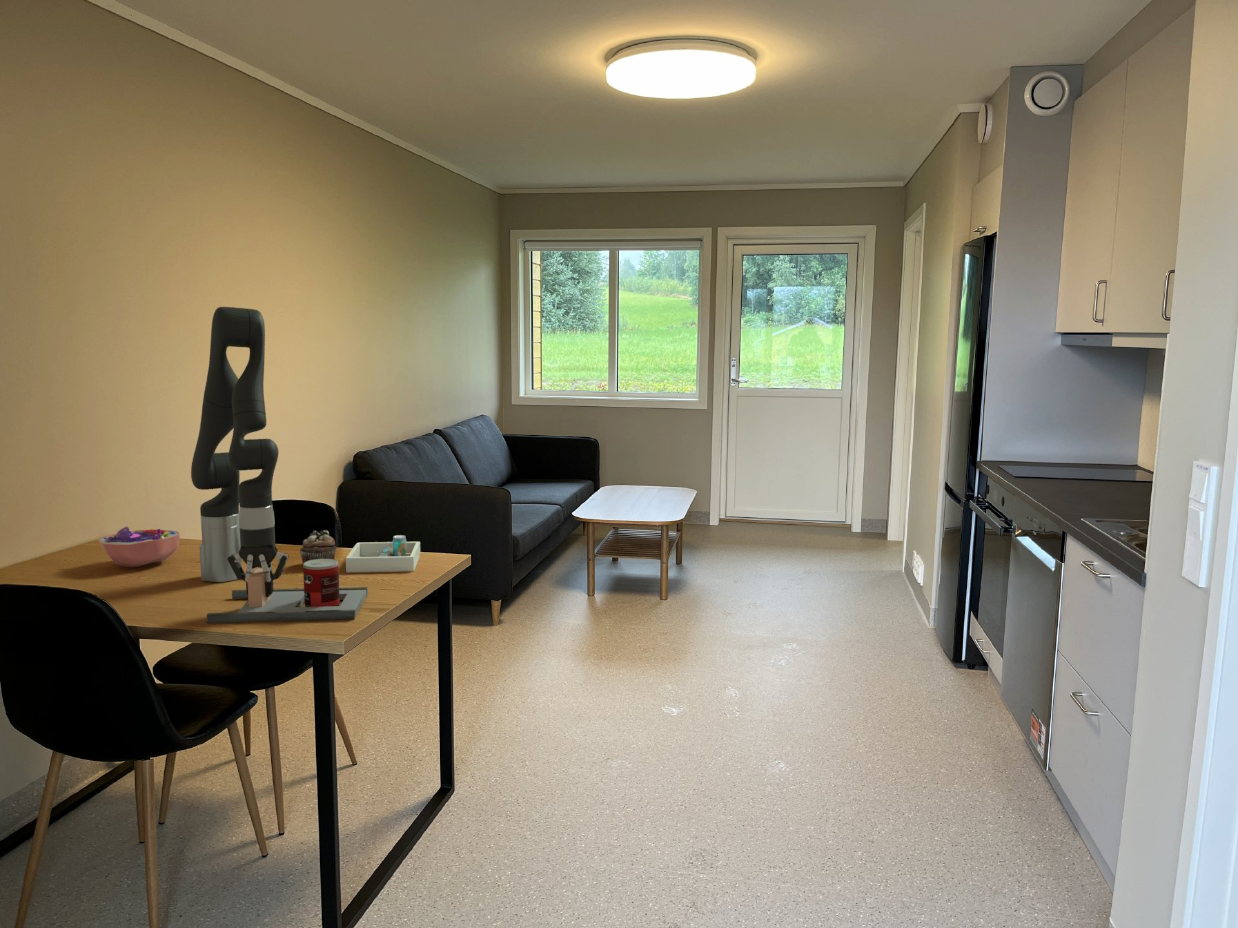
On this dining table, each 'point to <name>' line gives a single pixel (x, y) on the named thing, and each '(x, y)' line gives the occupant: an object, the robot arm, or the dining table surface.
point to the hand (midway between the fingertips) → (260, 596)
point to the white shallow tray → (381, 558)
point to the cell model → (140, 546)
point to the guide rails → (281, 612)
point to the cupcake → (318, 547)
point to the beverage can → (395, 547)
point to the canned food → (321, 583)
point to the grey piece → (292, 598)
